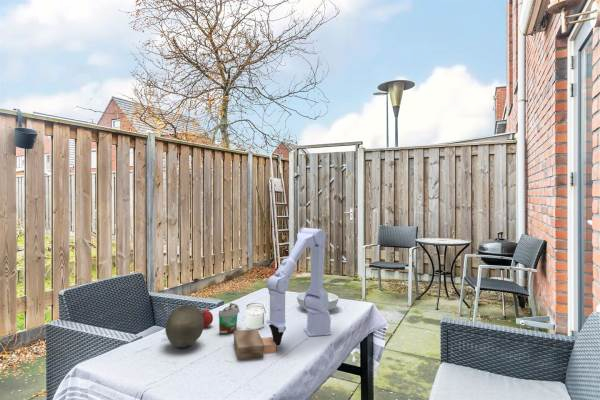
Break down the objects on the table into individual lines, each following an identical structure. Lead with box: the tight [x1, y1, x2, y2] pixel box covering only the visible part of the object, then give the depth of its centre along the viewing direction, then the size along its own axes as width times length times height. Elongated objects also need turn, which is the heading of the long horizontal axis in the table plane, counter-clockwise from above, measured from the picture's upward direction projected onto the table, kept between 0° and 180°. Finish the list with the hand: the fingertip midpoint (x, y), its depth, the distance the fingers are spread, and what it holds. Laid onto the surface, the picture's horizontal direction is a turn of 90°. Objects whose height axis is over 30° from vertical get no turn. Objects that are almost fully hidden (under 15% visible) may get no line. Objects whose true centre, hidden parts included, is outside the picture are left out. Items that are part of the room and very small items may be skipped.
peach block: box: [261, 336, 277, 355], centre depth 132 cm, size 10×7×3 cm
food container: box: [218, 302, 240, 336], centre depth 150 cm, size 12×6×10 cm, turn 168°
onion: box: [201, 308, 214, 328], centre depth 154 cm, size 6×6×8 cm
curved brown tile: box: [233, 328, 265, 360], centre depth 131 cm, size 9×16×5 cm, turn 16°
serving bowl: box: [296, 291, 339, 312], centre depth 183 cm, size 21×21×7 cm
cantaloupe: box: [164, 304, 205, 348], centre depth 134 cm, size 14×14×15 cm
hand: (277, 344), depth 134 cm, fingers closed, pressing on peach block
